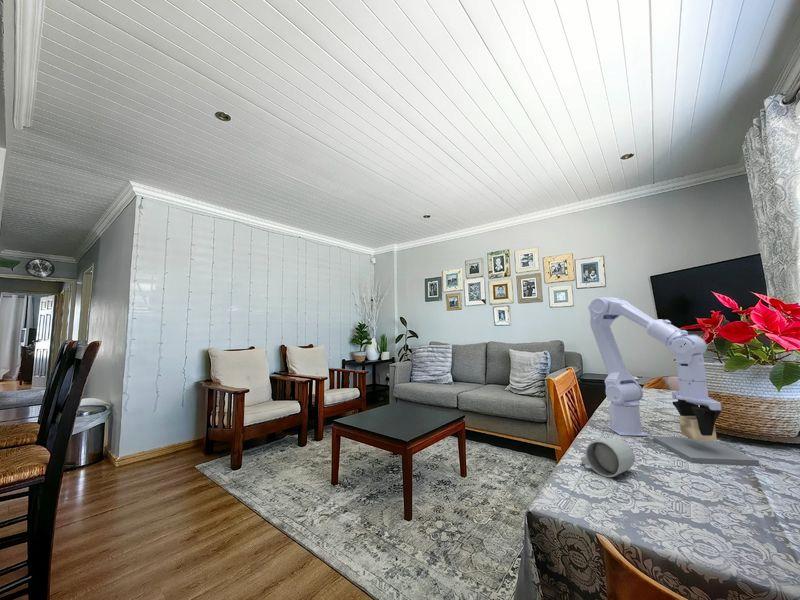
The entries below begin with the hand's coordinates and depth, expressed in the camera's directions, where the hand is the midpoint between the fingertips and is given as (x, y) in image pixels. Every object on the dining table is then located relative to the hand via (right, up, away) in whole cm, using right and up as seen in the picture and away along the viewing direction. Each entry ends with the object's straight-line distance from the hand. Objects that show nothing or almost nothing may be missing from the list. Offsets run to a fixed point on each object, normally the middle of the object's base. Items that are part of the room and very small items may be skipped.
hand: (698, 431), depth 85 cm
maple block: (0, -2, 0) cm, 2 cm away
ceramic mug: (-31, -5, -10) cm, 33 cm away
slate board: (0, -5, -1) cm, 5 cm away
